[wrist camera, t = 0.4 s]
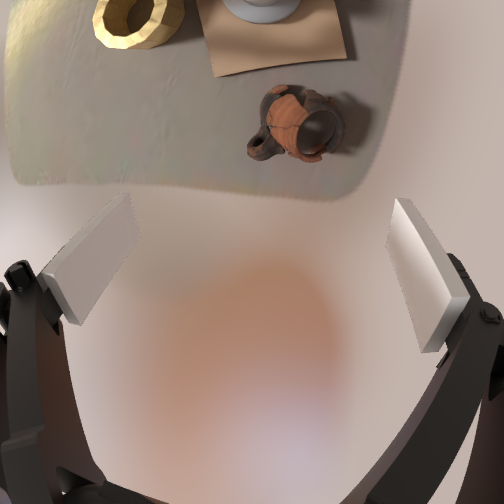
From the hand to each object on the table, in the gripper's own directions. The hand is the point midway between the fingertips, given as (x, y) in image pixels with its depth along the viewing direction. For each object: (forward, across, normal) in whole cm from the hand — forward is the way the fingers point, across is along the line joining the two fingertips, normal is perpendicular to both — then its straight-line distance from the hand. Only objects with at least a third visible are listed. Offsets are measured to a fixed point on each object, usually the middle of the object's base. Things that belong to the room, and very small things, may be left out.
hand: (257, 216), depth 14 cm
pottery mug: (+26, +1, 0) cm, 26 cm away
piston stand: (+26, -1, +17) cm, 31 cm away
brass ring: (+26, -16, +17) cm, 35 cm away
